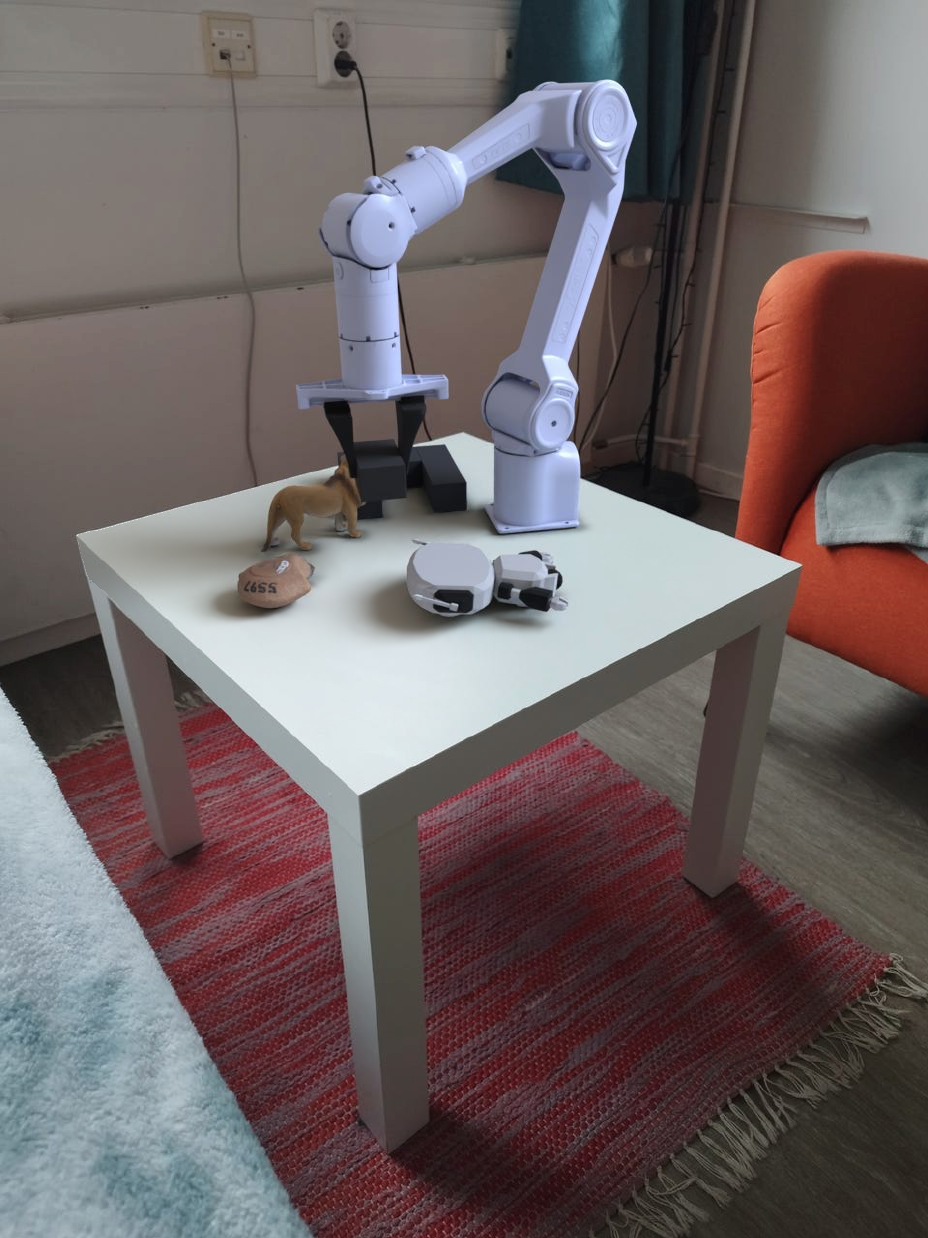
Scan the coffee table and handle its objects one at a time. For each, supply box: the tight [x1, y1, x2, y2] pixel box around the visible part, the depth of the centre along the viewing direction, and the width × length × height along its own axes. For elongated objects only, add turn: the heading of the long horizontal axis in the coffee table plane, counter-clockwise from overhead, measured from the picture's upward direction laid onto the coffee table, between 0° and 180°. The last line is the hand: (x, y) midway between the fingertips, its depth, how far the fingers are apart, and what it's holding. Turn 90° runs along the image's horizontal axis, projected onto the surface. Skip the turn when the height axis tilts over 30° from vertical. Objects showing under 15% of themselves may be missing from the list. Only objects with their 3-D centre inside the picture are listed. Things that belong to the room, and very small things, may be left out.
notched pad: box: [337, 443, 468, 520], centre depth 111 cm, size 14×14×4 cm
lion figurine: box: [260, 455, 366, 553], centre depth 98 cm, size 15×5×9 cm, turn 129°
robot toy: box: [405, 538, 570, 618], centre depth 86 cm, size 12×4×15 cm
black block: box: [354, 438, 408, 502], centre depth 91 cm, size 4×8×4 cm, turn 12°
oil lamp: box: [236, 553, 316, 609], centre depth 88 cm, size 9×4×8 cm
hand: (378, 472), depth 91 cm, fingers closed on black block, 4 cm apart
